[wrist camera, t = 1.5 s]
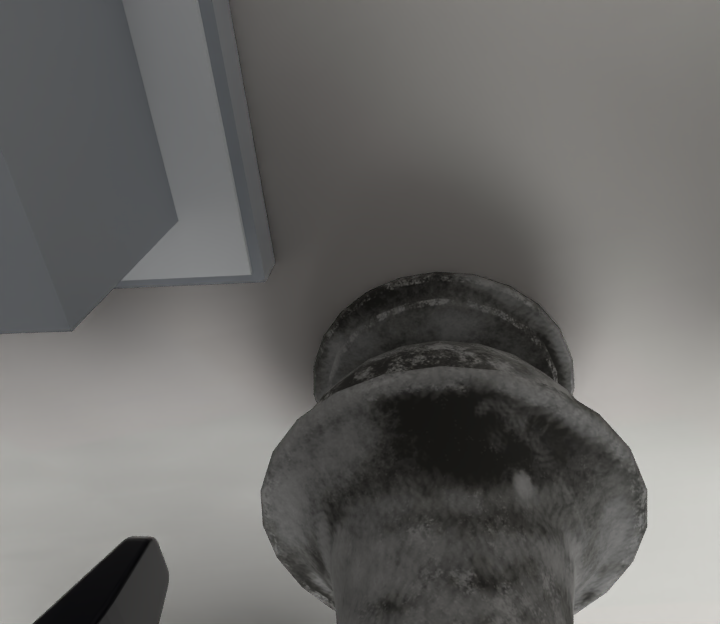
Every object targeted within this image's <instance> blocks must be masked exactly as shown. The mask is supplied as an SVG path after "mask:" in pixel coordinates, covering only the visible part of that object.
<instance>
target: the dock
mask: <svg viewBox="0 0 720 624" xmlns="http://www.w3.org/2000/svg"><path fill="white" fill-rule="evenodd" d="M274 264H275V259H274V253H273V247H272V242H271V236H270V231H269V225H268V219H267V214H266V208H265V202H264V197H263V191H262V186H261V180H260V174H259V169H258V163H257V157H256V152H255V146H254V141H253V135H252V129H251V124H250V118H249V112H248V107H247V101H246V96H245V90H244V84H243V79H242V73H241V67H240V62H239V56H238V51H237V45H236V39H235V34H234V28H233V23H232V17H231V11H230V6H229V0H0V334H8V333H37V332H67V331H73V330H74V329H75V327H76V326H77V325H78V324H79V323H80V322H81V321H82V320H83V319H84V318H85V317H86V316H87V315H88V314H89V313H90V312H91V311H92V310H93V309H94V308H95V307H96V306H97V305H98V304H99V303H100V302H101V301H102V300H103V299H104V298H105V296H106V295H107V294H108V293H109V292H110V291H111V290H112V289H116V288H139V287H163V286H186V285H209V284H232V283H255V282H266V280H267V278H268V276H269V274H270V272H271V270H272V268H273V266H274Z"/></svg>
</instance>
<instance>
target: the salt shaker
mask: <svg viewBox="0 0 720 624" xmlns="http://www.w3.org/2000/svg"><path fill="white" fill-rule="evenodd" d="M573 392H574V374H573V360H572V357H571V355H570V352H569V350H568V348H567V345H566V343H565V341H564V338H563V336H562V334H561V331H560V329H559V328H558V326H557V325H556V324H555V323H554V322H553V321H552V320H551V318H550V317H549V316H548V315H547V314H546V313H545V312H544V310H543V309H542V308H541V307H540V306H539V305H538V304H537V303H535V302H534V301H532V300H530V299H529V298H527V297H526V296H524V295H523V294H521V293H519V292H518V291H516V290H515V289H513V288H512V287H510V286H508V285H505V284H501V283H498V282H495V281H492V280H489V279H486V278H483V277H480V276H476V275H471V274H457V273H442V272H434V273H428V274H422V275H416V276H410V277H404V278H399V279H397V280H394V281H392V282H390V283H387V284H385V285H383V286H380V287H378V288H376V289H373V290H371V291H369V292H367V293H365V294H364V295H363V296H361V297H360V298H359V299H358V300H356V301H355V302H354V303H353V304H351V305H350V306H349V307H347V308H346V309H345V310H344V311H342V312H341V313H340V315H339V316H338V317H337V319H336V320H335V322H334V323H333V324H332V326H331V327H330V328H329V330H328V331H327V333H326V334H325V335H324V337H323V340H322V343H321V346H320V349H319V352H318V355H317V358H316V361H315V364H314V396H315V399H316V402H317V404H316V405H315V407H314V408H313V409H311V410H310V411H309V412H307V413H306V414H304V415H303V416H302V417H300V418H299V419H297V421H296V422H295V423H294V425H293V426H292V427H291V429H290V430H289V431H288V433H287V434H286V435H285V436H284V438H283V439H282V440H281V442H280V443H279V444H278V446H277V447H276V448H275V450H274V451H273V453H272V456H271V459H270V462H269V466H268V469H267V472H266V475H265V478H264V482H263V485H262V488H261V504H262V519H263V526H264V529H265V531H266V533H267V536H268V538H269V540H270V542H271V545H272V547H273V549H274V552H275V554H276V556H277V558H278V559H279V560H280V561H281V563H282V564H283V565H284V566H285V567H286V569H287V570H288V571H289V572H290V573H291V574H292V576H293V577H294V578H295V579H296V580H297V582H298V583H299V584H300V585H301V586H302V587H303V588H304V589H306V590H307V591H308V592H310V593H311V594H312V595H314V596H315V597H317V598H318V599H319V600H321V601H322V602H323V603H325V604H326V605H327V606H329V607H330V608H332V609H333V610H335V611H336V619H337V624H573V615H574V614H576V613H577V612H579V611H580V610H582V609H583V608H585V607H586V606H587V605H589V604H590V603H592V602H593V601H595V600H596V599H598V598H599V597H601V596H602V595H604V594H605V593H606V592H607V591H608V590H609V589H610V588H611V587H612V586H613V584H614V583H615V582H616V581H617V580H618V579H619V577H620V576H621V575H622V574H623V573H624V572H625V570H626V569H627V568H628V567H629V566H630V565H631V563H632V562H633V560H634V558H635V555H636V553H637V550H638V548H639V545H640V543H641V541H642V538H643V536H644V533H645V531H646V528H647V488H646V486H645V483H644V481H643V479H642V476H641V474H640V471H639V469H638V466H637V464H636V461H635V459H634V457H633V454H632V452H631V449H630V448H629V446H628V445H627V444H626V443H625V442H624V441H623V440H622V439H621V438H620V437H619V435H618V434H617V433H616V432H615V431H614V430H613V429H612V428H611V427H610V425H609V424H608V423H607V422H606V421H605V420H604V419H603V418H602V417H601V416H600V414H598V413H597V412H595V411H593V410H592V409H590V408H588V407H587V406H585V405H583V404H582V403H580V402H578V401H577V400H576V399H575V398H574V397H573V396H572V395H573Z"/></svg>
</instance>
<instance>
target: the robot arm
mask: <svg viewBox="0 0 720 624" xmlns="http://www.w3.org/2000/svg"><path fill="white" fill-rule="evenodd" d="M168 583H169V572H168V568H167V565H166V563H165V560H164V557H163V555H162V552H161V549H160V547H159V544H158V542H157V540H156V539H155V538H154V537H151V536H132V537H128V538H127V539H125V540H124V541H122V542H121V543H120V544H119V545H118V546H117V547H116V548H115V549H114V550H113V551H111V552H110V553H109V554H108V555H107V556H106V557H105V558H104V559H103V560H102V561H101V562H99V563H98V564H97V565H96V566H95V567H94V568H93V569H92V570H91V571H90V572H89V573H87V574H86V575H85V576H84V577H83V578H82V579H81V580H80V581H79V582H78V583H76V584H75V585H74V586H73V587H72V588H71V589H70V590H69V591H68V592H67V593H66V594H64V595H63V596H62V597H61V598H60V599H59V600H58V601H57V602H56V603H55V604H54V605H52V606H51V607H50V608H49V609H48V610H47V611H46V612H45V613H44V614H43V615H41V616H40V617H39V618H38V619H37V620H36V621H35V622H34V623H33V624H159V621H160V617H161V613H162V609H163V604H164V600H165V596H166V592H167V588H168Z"/></svg>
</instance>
